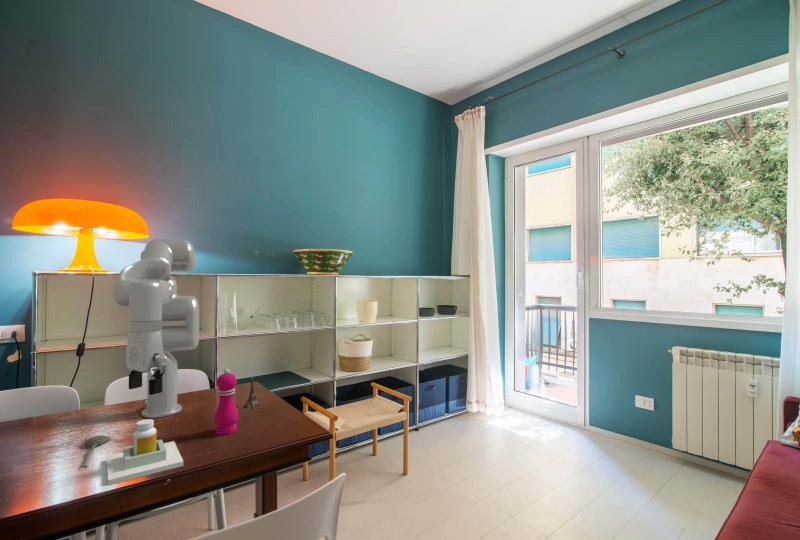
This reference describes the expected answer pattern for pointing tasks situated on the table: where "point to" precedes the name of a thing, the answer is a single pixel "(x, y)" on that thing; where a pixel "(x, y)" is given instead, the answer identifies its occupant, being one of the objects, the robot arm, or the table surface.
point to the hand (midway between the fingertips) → (145, 390)
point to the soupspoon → (93, 446)
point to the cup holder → (142, 462)
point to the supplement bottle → (144, 437)
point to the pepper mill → (226, 404)
